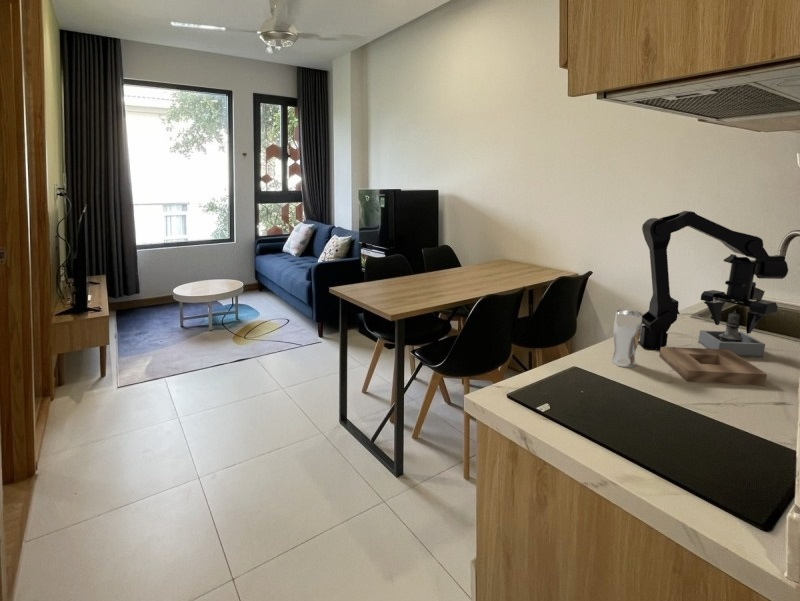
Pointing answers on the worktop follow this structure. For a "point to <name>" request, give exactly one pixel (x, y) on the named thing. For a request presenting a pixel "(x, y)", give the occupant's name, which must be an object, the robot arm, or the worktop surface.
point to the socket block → (712, 366)
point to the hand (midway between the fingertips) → (732, 329)
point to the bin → (732, 344)
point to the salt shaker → (731, 329)
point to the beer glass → (626, 336)
